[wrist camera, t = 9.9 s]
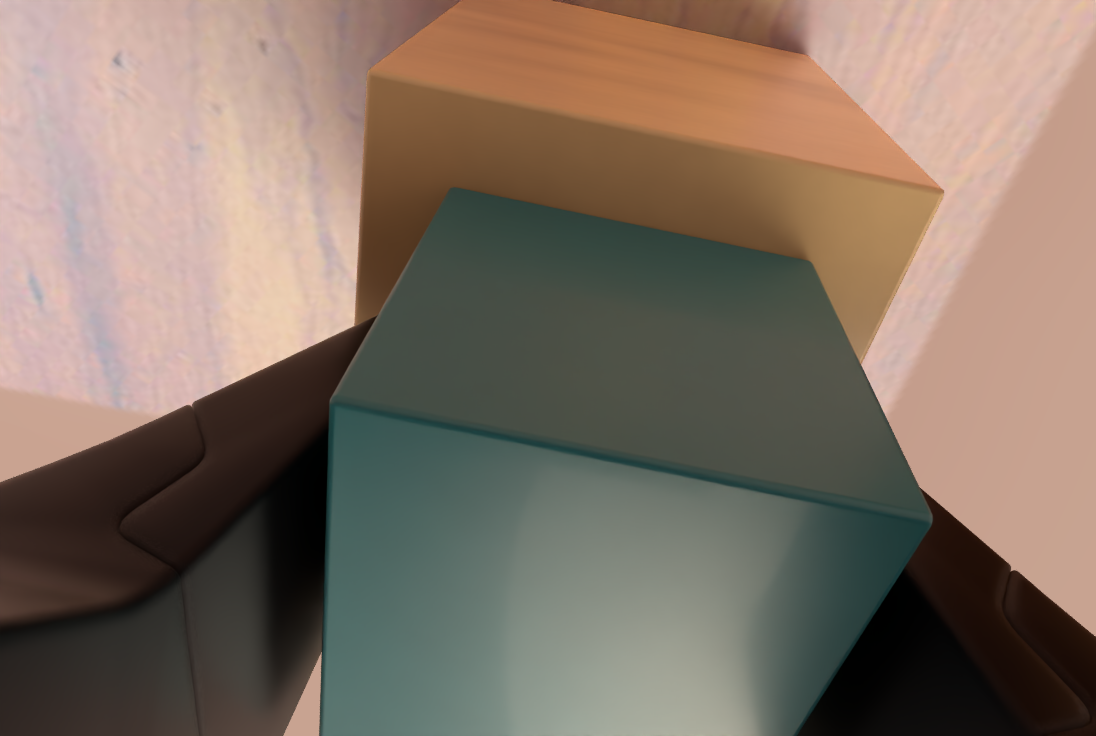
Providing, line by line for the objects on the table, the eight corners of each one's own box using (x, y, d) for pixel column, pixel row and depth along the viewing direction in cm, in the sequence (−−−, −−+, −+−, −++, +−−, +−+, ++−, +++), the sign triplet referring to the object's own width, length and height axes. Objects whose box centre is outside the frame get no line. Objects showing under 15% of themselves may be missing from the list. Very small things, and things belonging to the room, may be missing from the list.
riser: (710, 338, 17) (754, 585, 11) (443, 283, 17) (343, 503, 11) (811, 56, 14) (948, 191, 8) (479, -16, 13) (364, 68, 8)
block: (705, 521, 10) (741, 826, 7) (417, 464, 10) (316, 746, 7) (813, 259, 8) (939, 520, 5) (449, 184, 8) (325, 398, 5)
